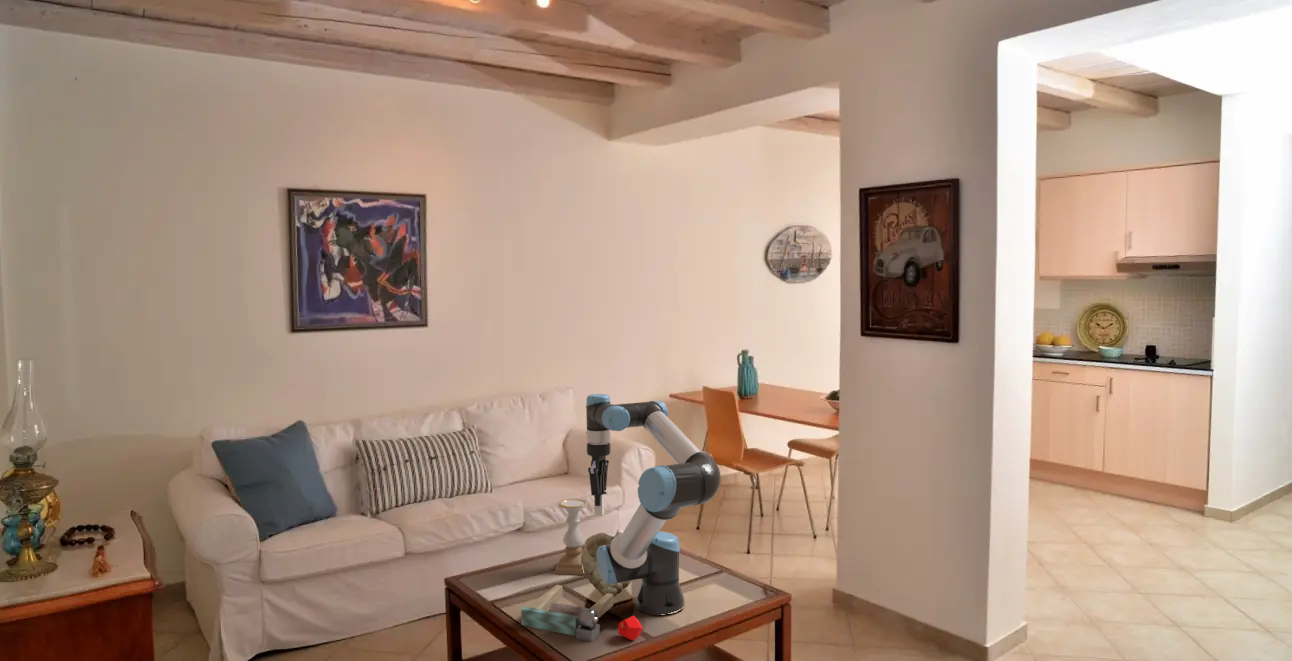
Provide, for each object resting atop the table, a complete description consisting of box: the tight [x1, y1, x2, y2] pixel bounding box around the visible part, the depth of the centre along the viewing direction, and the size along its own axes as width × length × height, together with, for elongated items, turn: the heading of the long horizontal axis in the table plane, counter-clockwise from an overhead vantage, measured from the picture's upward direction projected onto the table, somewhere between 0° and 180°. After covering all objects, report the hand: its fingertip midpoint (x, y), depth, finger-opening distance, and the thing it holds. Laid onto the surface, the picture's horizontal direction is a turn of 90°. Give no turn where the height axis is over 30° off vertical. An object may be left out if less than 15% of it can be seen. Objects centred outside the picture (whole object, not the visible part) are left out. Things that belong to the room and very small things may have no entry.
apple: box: [617, 615, 644, 641], centre depth 238 cm, size 7×7×8 cm
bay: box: [520, 584, 614, 637], centre depth 254 cm, size 20×24×5 cm
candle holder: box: [554, 498, 588, 576], centre depth 292 cm, size 11×11×24 cm
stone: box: [547, 602, 586, 616], centre depth 250 cm, size 9×12×5 cm
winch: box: [575, 607, 601, 642], centre depth 239 cm, size 6×5×8 cm
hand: (599, 514), depth 267 cm, fingers closed
